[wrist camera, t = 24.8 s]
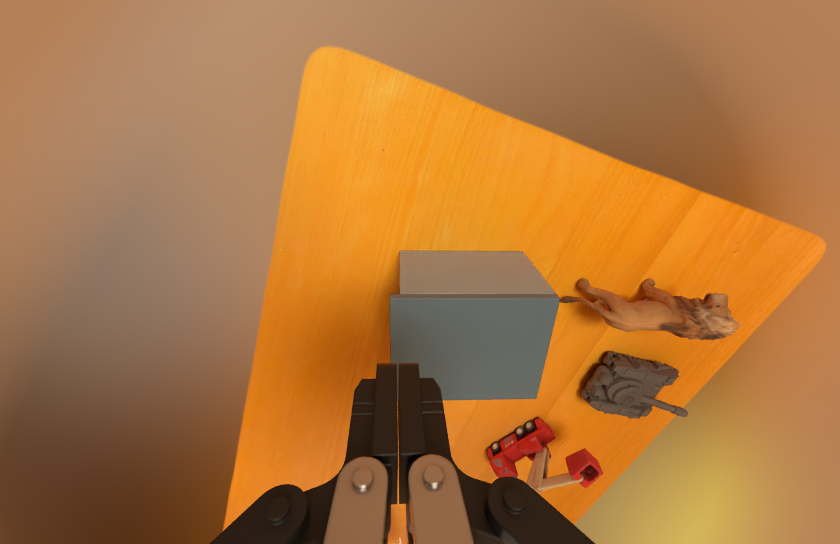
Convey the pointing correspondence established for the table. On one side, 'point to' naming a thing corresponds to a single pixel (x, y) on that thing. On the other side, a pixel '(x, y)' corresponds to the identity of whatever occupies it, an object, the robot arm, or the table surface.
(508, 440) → the toy fire truck
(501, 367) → the lid
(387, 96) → the table surface
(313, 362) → the table surface
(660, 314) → the lion figurine
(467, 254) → the washer
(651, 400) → the tank toy
